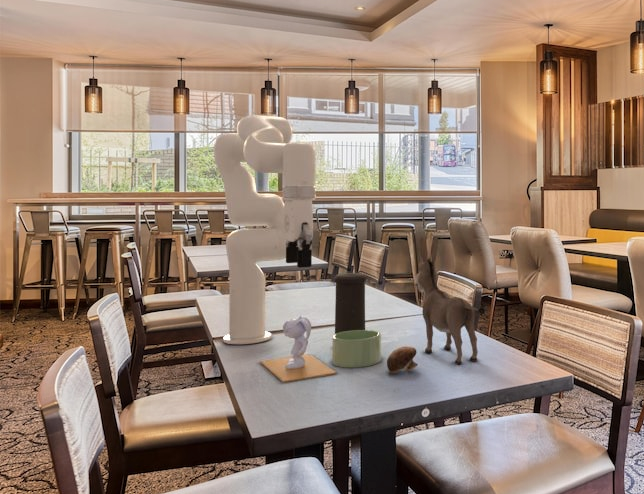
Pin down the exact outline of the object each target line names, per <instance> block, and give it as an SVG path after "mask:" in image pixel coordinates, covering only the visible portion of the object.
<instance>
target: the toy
mask: <svg viewBox="0 0 644 494" xmlns="http://www.w3.org/2000/svg"><path fill="white" fill-rule="evenodd" d="M438 249H439V238H438V236H437V235H435V236H434V238H433V239H432V243H431V246H430V256H429V255H428V254H429V253H428V247H427V244H426V240H425V238H424V237H423V236H420V239H419V252H420V256H421V258H422V260H423V262H420V263H419V264H418V269H419V271H418V273H416V275H415V278H414V286H416V287H417V290H418V292H419V293H424V295H425V299H424V301H423V305H422V311H421V312H422V317H423V321H424V323H425V328H426V329H425V330H426V340H427V342H426V343H427V344H426V347H425V348H424V353H426V354H431V353H433V349H432V348H433V338H434V337H433V336H434V328H435V329H436V330H437V331H439V332H442V333H445V334H446V343H445V345H444V346H443V349H444V350H445V351H450V350H452V346H451V345H452V344H453V342H454V345H455V349H456V354H457V355H456V358H455V359H454V364H456V365H461V364H463V362H462V357H463V349H462V345H463V340H462V329H463V327H464V328H465V330H466V332H467V334H468V338H469V342H470V345H471V349H472V350H471V351H472V354H471V356H470V357H469V361H471V362H477V361H478V357H477V356H478V354H479V353H478V345H477V344H478V343H477V342H478V337H477V335H476V330H475V319H476V318H475V311H476V312H478V314H480V315H484V314H485V313H486V309H485V307H484V306H483V307H479V308H476V307H473V306H472V305H471V303H470V302H468V301H467V300H466V299H464V298H462V297H458V296H453V297H450V295H449V294H448V293H447V292H446V291H444V290H442V289H440V288H439V286H438V273H437V270H436V260H437V257H438ZM452 339H453V340H452Z"/></svg>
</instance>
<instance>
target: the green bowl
mask: <svg viewBox="0 0 644 494" xmlns="http://www.w3.org/2000/svg"><path fill="white" fill-rule="evenodd" d="M381 360H382V333H381V332H380V331H377V330H371V329H365V330H351V331H344V332H339V333H336V334H335V333H334V334H333V335H332V365H334V366H336V367H340V368H364V367H370V366H373V365H376V364H378V363H380V362H381Z"/></svg>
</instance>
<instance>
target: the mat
mask: <svg viewBox="0 0 644 494" xmlns="http://www.w3.org/2000/svg"><path fill="white" fill-rule="evenodd" d="M301 356H302V357H303V358H304V360H305V364H304V367H303V368H298V369H286V364H287V361H289V360H292V359H293V356H288V357H287V356H286V357H282V358H274V359H268V360H267V359H266V360H261V361H260V364H261V365H262V366H264V367H265V368H266V369H267V370H268V371H269V372H271V374H273V375H274V376H275V377H276V379H278V380H280V381H281V382H282V383H283V384H284V383H285V384H286V383H289V382H296V381H301V380H308V379H314V378H320V377H326V376H332V375H337V371H336V370H334V369H333V368H331V367H329V366H328V365H327V364H325V363H323V362H322V361H321V360H319V359H317V358H316V357H314V356H313V355H311V354H310V353H309V354H308V353H307V354H303V355H301Z"/></svg>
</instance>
